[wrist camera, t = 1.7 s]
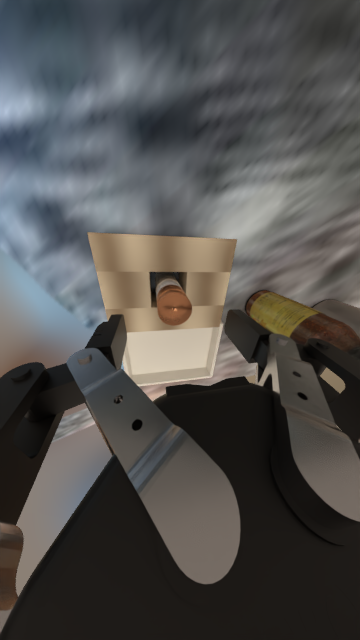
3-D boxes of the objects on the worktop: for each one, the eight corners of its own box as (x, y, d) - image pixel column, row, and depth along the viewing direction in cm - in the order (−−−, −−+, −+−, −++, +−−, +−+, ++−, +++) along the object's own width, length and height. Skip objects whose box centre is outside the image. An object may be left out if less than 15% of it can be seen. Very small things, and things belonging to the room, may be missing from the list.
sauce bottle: (240, 317, 30) (357, 421, 13) (250, 287, 27) (421, 371, 10) (266, 318, 31) (404, 413, 14) (280, 290, 28) (473, 367, 11)
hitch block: (217, 239, 22) (237, 239, 17) (206, 310, 28) (219, 326, 23) (104, 234, 19) (87, 232, 14) (119, 314, 25) (111, 333, 20)
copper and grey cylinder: (174, 269, 23) (193, 293, 13) (174, 288, 25) (190, 324, 14) (154, 268, 23) (156, 294, 12) (155, 288, 24) (158, 326, 14)
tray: (215, 314, 29) (223, 323, 26) (206, 365, 35) (211, 377, 32) (120, 319, 26) (116, 329, 23) (130, 373, 32) (128, 387, 29)
